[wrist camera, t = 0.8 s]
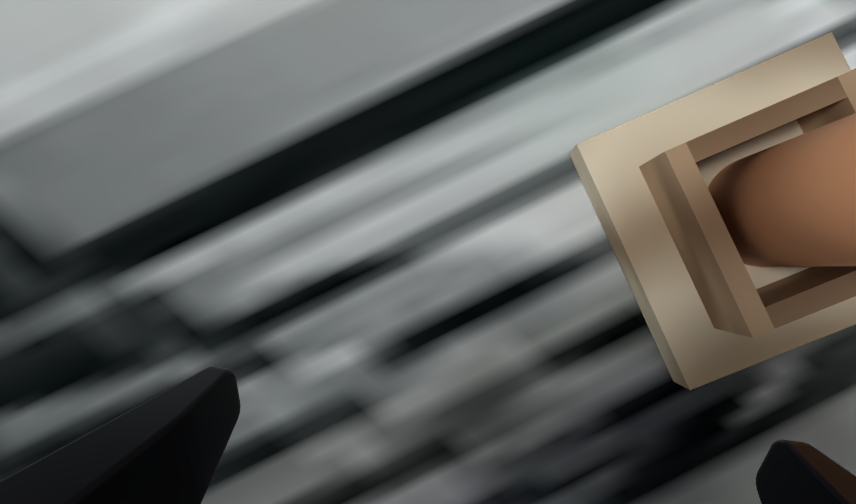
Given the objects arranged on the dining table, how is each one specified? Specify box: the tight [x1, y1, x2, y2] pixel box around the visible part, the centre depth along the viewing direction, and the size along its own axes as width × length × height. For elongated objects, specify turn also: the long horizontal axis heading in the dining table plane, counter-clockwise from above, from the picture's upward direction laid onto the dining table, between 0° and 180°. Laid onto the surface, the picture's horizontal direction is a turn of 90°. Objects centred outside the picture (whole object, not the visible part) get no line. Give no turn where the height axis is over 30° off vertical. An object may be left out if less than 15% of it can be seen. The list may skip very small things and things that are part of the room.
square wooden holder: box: [569, 32, 856, 390], centre depth 18 cm, size 11×11×4 cm
